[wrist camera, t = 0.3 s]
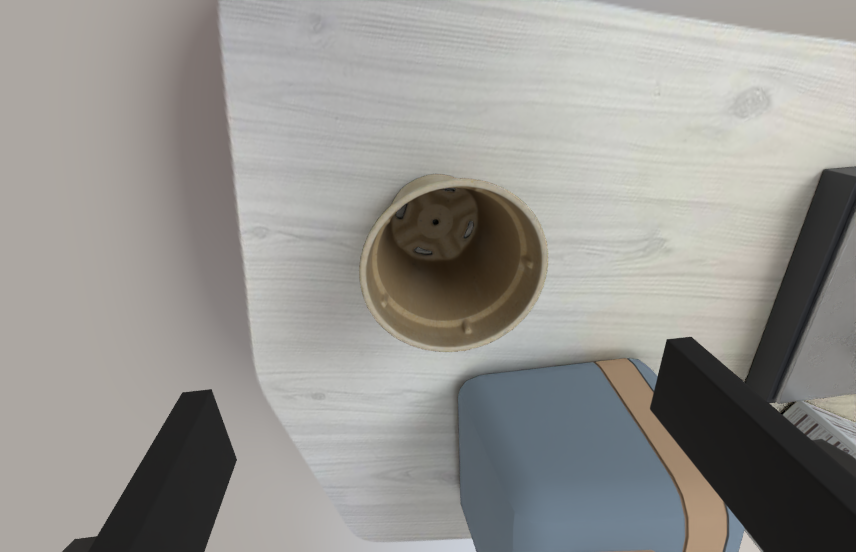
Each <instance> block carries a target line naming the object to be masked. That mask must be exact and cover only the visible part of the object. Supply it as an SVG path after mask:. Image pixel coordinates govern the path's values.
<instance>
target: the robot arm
mask: <svg viewBox="0 0 856 552" xmlns="http://www.w3.org/2000/svg"><path fill="white" fill-rule="evenodd" d="M650 410H651V412H652V413H653V414H654V415H655V417H656V418H657V419H658V420H659V422H660V423H661V424H662V425H663V427H664V428H665V429H666V430H667V432H668V433H669V434H670V435H671V437H672V438H673V439H674V440H675V442H676V443H677V444H678V445H679V447H680V448H681V449H682V450H683V452H684V453H685V454H686V455H687V457H688V458H689V459H690V460H691V462H692V463H693V464H694V465H695V467H696V468H697V469H698V470H699V472H700V473H701V474H702V475H703V477H704V478H705V479H706V480H707V482H708V483H709V484H710V485H711V487H712V488H713V489H714V490H715V492H716V493H717V494H718V495H719V497H720V498H721V499H722V500H723V502H724V503H725V504H726V505H727V507H728V508H729V509H730V510H731V512H732V513H733V514H734V515H735V517H736V518H737V519H738V520H739V522H740V523H741V524H742V525H743V527H744V528H745V529H746V530H747V532H748V533H749V534H750V535H751V537H752V538H753V539H754V540H755V542H756V543H757V544H758V545H759V547H760V548H761V549H762V550H763V552H856V459H855V458H854V457H853V456H852V455H850V454H848V453H846V452H844V451H843V450H841V449H839V448H837V447H836V446H834V445H832V444H830V443H828V442H827V441H825V440H823V439H817V440H811V439H810V438H809V437H808V436H806V435H805V434H804V433H803V432H802V431H801V430H799V429H798V428H797V427H796V426H795V425H794V424H792V423H791V422H790V421H789V420H788V419H787V418H785V417H784V416H783V415H782V414H781V413H780V412H778V411H777V410H776V409H775V408H774V407H773V406H771V405H770V404H769V403H768V402H767V401H766V400H764V399H763V398H762V397H761V396H760V395H759V394H757V393H756V392H755V391H754V390H753V389H752V388H750V387H749V386H748V385H747V384H746V383H745V382H743V381H742V380H741V379H740V378H739V377H738V376H736V375H735V374H734V373H733V372H732V371H731V370H729V369H728V368H727V367H726V366H725V365H724V364H722V363H721V362H720V361H719V360H718V359H717V358H715V357H714V356H713V355H712V354H711V353H710V352H708V351H707V350H706V349H705V348H704V347H703V346H701V345H700V344H699V343H698V342H697V341H696V340H694V339H693V338H692V337H685V338H676V339H667V341H666V345H665V349H664V353H663V357H662V361H661V365H660V369H659V373H658V377H657V381H656V385H655V389H654V393H653V397H652V401H651V405H650ZM236 461H237V459H236V456H235V453H234V450H233V448H232V445H231V442H230V439H229V436H228V434H227V431H226V428H225V425H224V423H223V420H222V417H221V414H220V412H219V409H218V406H217V403H216V401H215V398H214V395H213V392H212V390H211V389H210V390H201V391H193V392H183V393H182V394H181V396H180V398H179V399H178V401H177V403H176V404H175V406H174V408H173V409H172V411H171V413H170V414H169V416H168V418H167V419H166V421H165V423H164V425H163V426H162V428H161V430H160V431H159V433H158V435H157V436H156V438H155V440H154V441H153V443H152V445H151V446H150V448H149V450H148V452H147V453H146V455H145V457H144V458H143V460H142V462H141V463H140V465H139V467H138V468H137V470H136V472H135V473H134V475H133V477H132V478H131V480H130V482H129V483H128V485H127V487H126V489H125V490H124V492H123V494H122V495H121V497H120V499H119V501H118V502H117V504H116V506H115V507H114V509H113V510H112V512H111V514H110V516H109V517H108V519H107V521H106V522H105V524H104V526H103V528H102V529H101V531H100V532H99V534H98V536H96V537H88V538H81V539H74V541H73V542H72V543H71V544H69V546H67V547H66V548H65V549H64V550H63V552H204V551H205V548H206V545H207V542H208V539H209V537H210V534H211V531H212V528H213V526H214V523H215V520H216V517H217V514H218V512H219V509H220V506H221V503H222V500H223V497H224V495H225V491H226V489H227V486H228V483H229V480H230V478H231V475H232V472H233V469H234V466H235V463H236Z"/></svg>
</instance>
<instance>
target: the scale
mask: <svg viewBox="0 0 856 552" xmlns="http://www.w3.org/2000/svg"><path fill="white" fill-rule="evenodd" d="M746 384H747V385H748V386H749V387H750V388H752V389H753V390H754V391H755V392H756V393H757V394H759V395H760V396H761V397H762V398H763V399H764V400H766V401H767V402H768V403H775V402H777V403H778V404H780V403H788V402H795V401H803V400H811V399H818V398H826V397H834V396H841V395H849V394H856V167H845V168H834V169H825V170H824V171H823V174H822V177H821V179H820V182H819V185H818V188H817V190H816V193H815V196H814V198H813V201H812V204H811V207H810V209H809V212H808V215H807V217H806V220H805V223H804V226H803V228H802V231H801V234H800V236H799V239H798V242H797V245H796V247H795V250H794V253H793V255H792V258H791V261H790V264H789V266H788V269H787V272H786V274H785V277H784V280H783V283H782V285H781V288H780V291H779V293H778V296H777V299H776V302H775V304H774V307H773V310H772V312H771V315H770V318H769V321H768V323H767V326H766V329H765V331H764V334H763V337H762V339H761V342H760V345H759V348H758V350H757V353H756V356H755V358H754V361H753V364H752V367H751V369H750V372H749V375H748V377H747V380H746Z"/></svg>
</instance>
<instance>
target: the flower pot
mask: <svg viewBox="0 0 856 552" xmlns="http://www.w3.org/2000/svg"><path fill="white" fill-rule="evenodd" d="M444 188H454V189H455V191H454V192H453V191H451V190H447V191H445V189H444ZM406 203H407V207H406V210H405V212H404V215H403V218H402V219H399V218H397V216H396V213H397V211H398V210H399V209H400V208H401V207H403V206H404V205H405V204H406ZM435 219H437V220H438V221H439V223H438V224H437V225H434V224H433V220H435ZM470 221H472V222H473V230H472V232H471V234H470V235H469V236H468V237H467V238H464V235H465V233H466V230H467V228H468V225H469V222H470ZM417 247H419V248H422V249H424V250H428V251H432V255H430V254H427V255H425V254H420V253H416V252H415V249H416V248H417ZM547 268H548V249H547V241H546V238H545V235H544V232H543V229H542V227H541V225H540V223H539V221H538V219H537V217H536V216H535V214H534V213H533V212H532V210H531V209H530V208H529V207H528V206H527V205H526V204H525V203H524V202H523V201H522V200H521V199H520V198H518V197H517V196H515V195H514V194H513V193H511V192H509V191H508V190H506V189H504V188H502V187H500V186H497V185H495V184H492V183H489V182H486V181H481V180H474V179H465V178H460V179H456V178H454V177H451V176H448V175H442V174H431V175H426V176H423V177H420V178H418V179H415V180H413V181H412V182H410V183H408V184H407V185H406V186H404V187H403V188H402V189H401V190H400V192H399V193H398V194H397V196H396V197H395V199H394V201H393V203H392V205H391V206H390V207H389V208H388V209H387V210H386V211H385V212H384V213H383V214H382V215H381V216H380V218H379V219H378V220H377V221H376V223H375V224H374V226H373V227H372V229H371V231H370V233H369V234H368V237H367V239H366V241H365V244H364V247H363V250H362V254H361V259H360V266H359V277H360V285H361V290H362V294H363V297H364V300H365V303H366V305H367V308H368V309H369V311H370V312H371V314H372V316H373V317H374V319H376V321H377V322H378V323H379V325H380V326H382V328H384V329H385V330H386V331H387V332H388V333H390V334H391V335H392V336H393V337H395V338H397V339H398V340H400V341H403V342H405V343H407V344H409V345H411V346H414V347H417V348H421V349H425V350H431V351H439V352H457V351H466V350H470V349H473V348H477V347H480V346H483V345H486V344H488V343H491V342H493V341H495V340H497V339H499V338H500V337H502V336H503V335H505V334H506V333H508V332H510V331H511V330H513V329H514V328H515V327H516V326H517V325H518V324H519V323H520V322H521V321H522V320H523V319H524V318H525V317H526V316H527V315H528V313H529V312H530V311H531V309H532V308H533V306H534V305H535V303H536V302H537V300H538V297H539V295H540V293H541V290H542V288H543V285H544V282H545V279H546V274H547Z"/></svg>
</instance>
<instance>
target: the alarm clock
mask: <svg viewBox="0 0 856 552" xmlns="http://www.w3.org/2000/svg"><path fill="white" fill-rule="evenodd" d="M656 381H657V375H656V374H655V373H654V372H653V371H652V370H651V369H650V368H649V367H648V366H647V365H645V364H644V363H643V362H641V361H640V360H638V359H631V358H627V359H626V358H623V359H615V360H606V361H597V362H589V363H580V364H572V365H563V366H554V367H546V368H537V369H529V370H520V371H511V372H503V373H494V374H486V375H479V376H477V377H475V378H472V379H470V380H467V381H466V382H465V384H464V385H463V386H462V387H461V389H460V392H459V395H458V415H459V454H460V498H461V506H462V509H463V512H464V515H465V518H466V521H467V524H468V527H469V530H470V533H471V536H472V539H473V542H474V545H475V549H476V551H477V552H739V548H740V544H741V541H742V537H743V533H744V530H745V528H744V527H743V525H742V524H741V523H740V522H739V520H738V519H737V518H736V517H735V515H734V514H733V513H732V512H731V510H730V509H729V508H728V507H727V505H726V504H725V503H724V502H723V500H722V499H721V498H720V497H719V495H718V494H717V493H716V492H715V490H714V489H713V488H712V487H711V485H710V484H709V483H708V482H707V480H706V479H705V478H704V477H703V475H702V474H701V473H700V472H699V470H698V469H697V468H696V467H695V465H694V464H693V463H692V462H691V460H690V459H689V458H688V457H687V455H686V454H685V453H684V452H683V450H682V449H681V448H680V447H679V445H678V444H677V443H676V442H675V440H674V439H673V438H672V437H671V435H670V434H669V433H668V432H667V430H666V429H665V428H664V427H663V425H662V424H661V423H660V422H659V420H658V419H657V418H656V417H655V415H654V414H653V413H652V412H651V410H650V405H651V401H652V397H653V393H654V389H655V385H656Z"/></svg>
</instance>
